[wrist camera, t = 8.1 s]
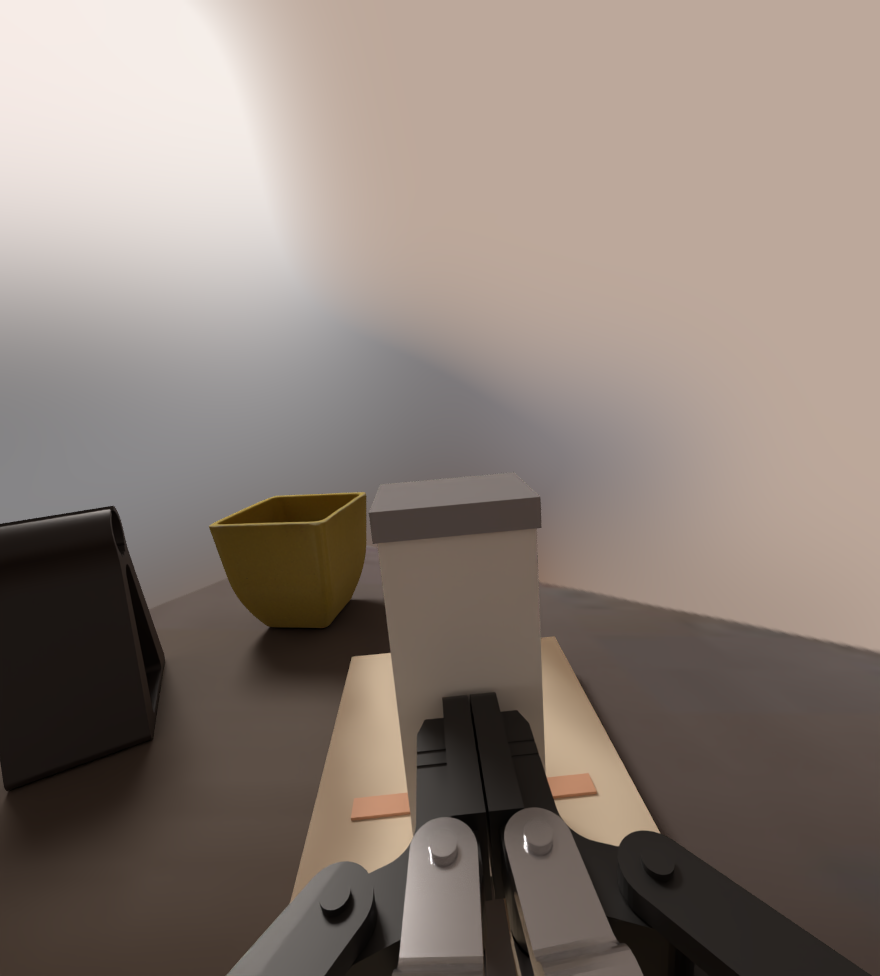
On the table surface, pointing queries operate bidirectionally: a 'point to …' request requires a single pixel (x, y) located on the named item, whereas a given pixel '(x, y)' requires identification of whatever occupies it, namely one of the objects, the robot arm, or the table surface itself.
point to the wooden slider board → (384, 797)
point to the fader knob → (460, 599)
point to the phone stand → (72, 645)
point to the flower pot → (295, 556)
